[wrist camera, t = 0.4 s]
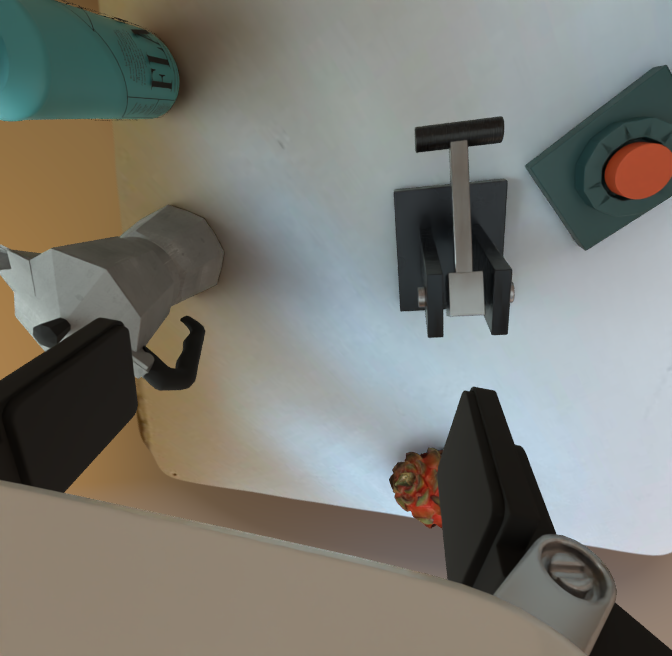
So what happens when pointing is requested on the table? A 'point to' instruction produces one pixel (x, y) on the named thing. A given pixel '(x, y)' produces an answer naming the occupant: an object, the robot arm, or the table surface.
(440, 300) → the bracket
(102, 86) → the beverage bottle
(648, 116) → the button box
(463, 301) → the lever
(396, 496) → the dragon fruit
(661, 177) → the button
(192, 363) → the coffeepot
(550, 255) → the table surface
